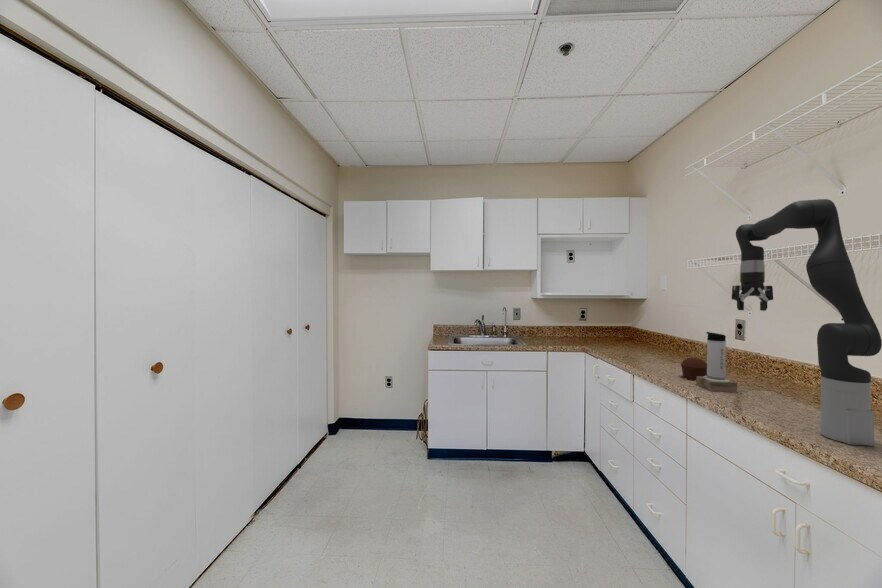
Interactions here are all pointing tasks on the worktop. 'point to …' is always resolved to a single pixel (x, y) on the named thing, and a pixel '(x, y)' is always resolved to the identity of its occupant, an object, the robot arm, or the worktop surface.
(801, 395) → the worktop surface
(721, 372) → the travel mug
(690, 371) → the muffin
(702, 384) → the walnut stand
